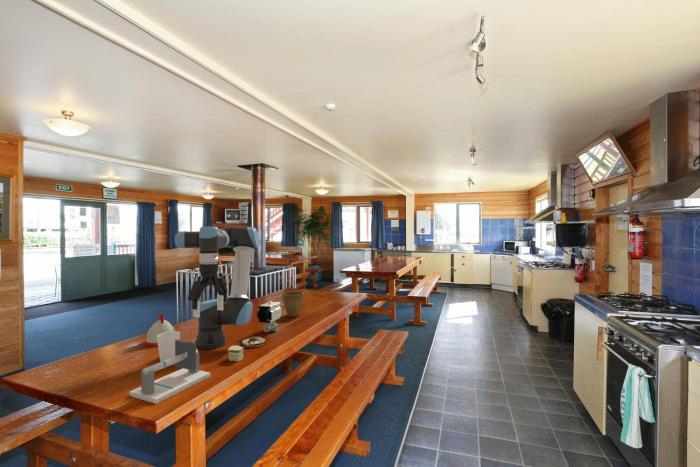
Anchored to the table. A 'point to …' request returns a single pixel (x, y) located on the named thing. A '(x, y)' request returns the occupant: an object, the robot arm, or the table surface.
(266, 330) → the ball valve
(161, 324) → the kitchen timer
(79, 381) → the table surface
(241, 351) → the beige layered block
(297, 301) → the plant pot
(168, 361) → the pipe rig
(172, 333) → the foam cup
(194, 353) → the collar
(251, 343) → the white shallow bowl
